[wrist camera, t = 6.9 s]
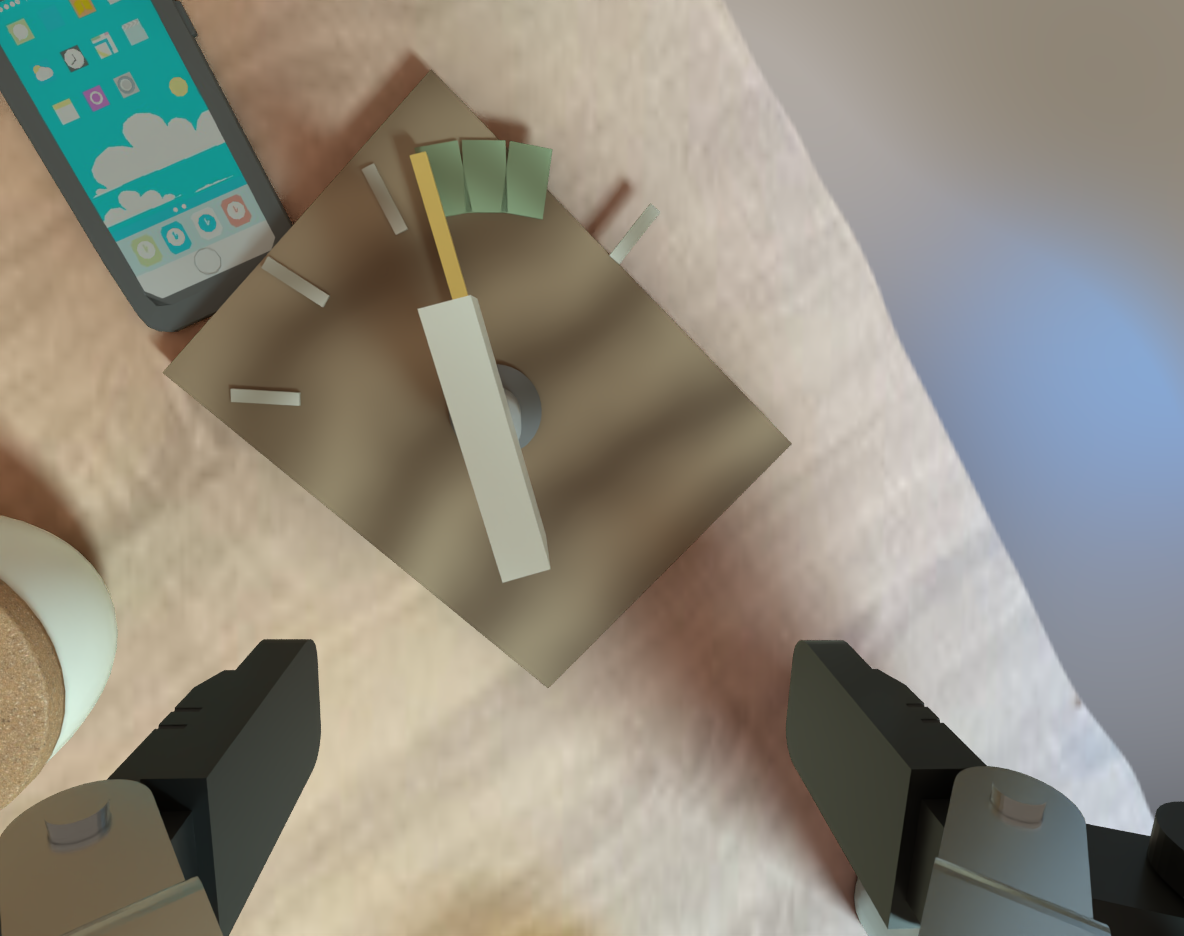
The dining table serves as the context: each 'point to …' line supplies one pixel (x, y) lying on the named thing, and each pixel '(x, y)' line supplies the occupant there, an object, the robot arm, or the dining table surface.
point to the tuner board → (526, 367)
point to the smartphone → (141, 149)
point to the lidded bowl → (47, 648)
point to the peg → (481, 407)
